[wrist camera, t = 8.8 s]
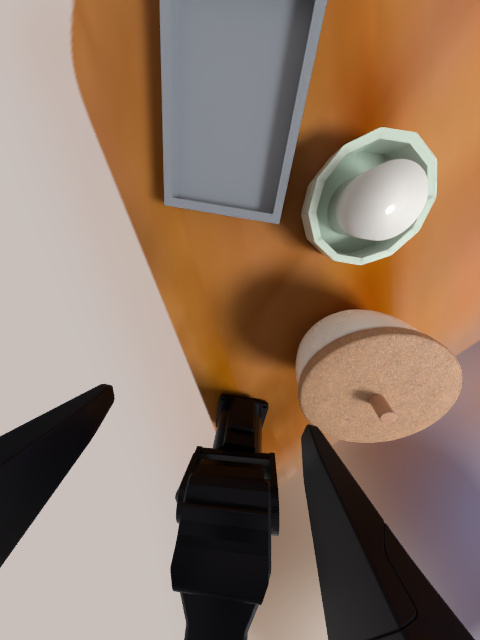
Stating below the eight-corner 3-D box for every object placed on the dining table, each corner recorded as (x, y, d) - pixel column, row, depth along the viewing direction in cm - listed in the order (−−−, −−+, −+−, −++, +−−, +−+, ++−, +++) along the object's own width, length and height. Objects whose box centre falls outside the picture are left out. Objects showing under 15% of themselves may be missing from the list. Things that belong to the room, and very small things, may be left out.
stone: (393, 181, 14) (444, 165, 10) (368, 239, 16) (404, 245, 12) (338, 171, 14) (369, 152, 10) (320, 231, 16) (339, 234, 12)
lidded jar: (267, 339, 22) (270, 411, 14) (353, 268, 18) (433, 311, 10) (328, 392, 25) (362, 480, 16) (416, 341, 21) (521, 424, 12)
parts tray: (277, 223, 17) (279, 224, 15) (173, 206, 17) (164, 205, 15) (326, -7, 11) (336, -44, 10) (172, -29, 12) (157, -69, 10)
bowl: (377, 263, 18) (398, 271, 15) (291, 249, 18) (297, 254, 15) (427, 155, 14) (465, 140, 11) (320, 138, 14) (333, 119, 12)
